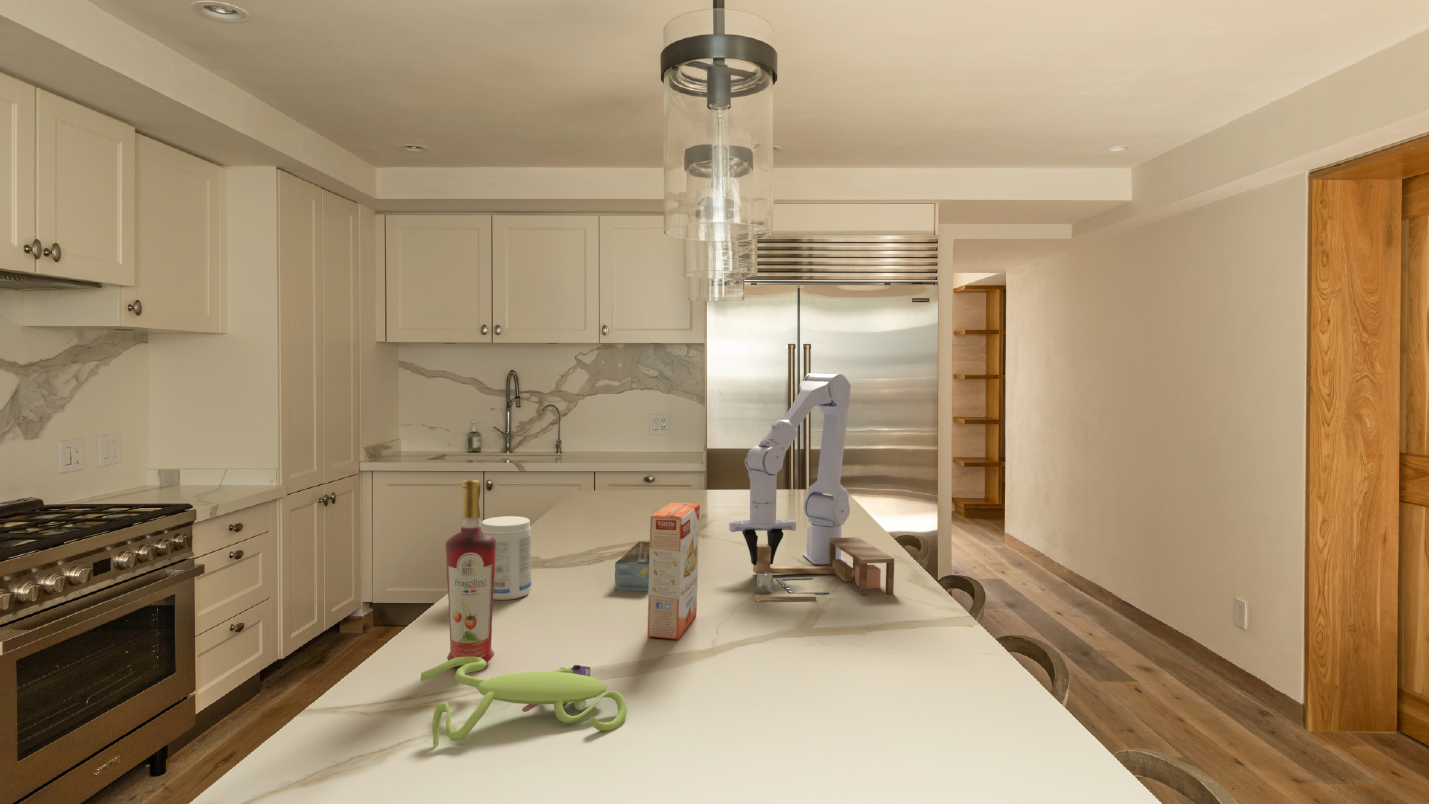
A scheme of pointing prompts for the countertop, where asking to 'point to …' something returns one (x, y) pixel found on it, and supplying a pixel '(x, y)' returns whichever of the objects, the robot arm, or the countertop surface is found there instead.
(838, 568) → the oak crook
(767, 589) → the spice tin
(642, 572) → the beverage carton
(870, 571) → the terracotta cube
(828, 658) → the countertop surface
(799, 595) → the maple bar
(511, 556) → the supplement tub
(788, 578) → the tape bracket
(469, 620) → the liquor
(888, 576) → the wooden bench
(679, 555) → the cracker box
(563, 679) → the figurine
